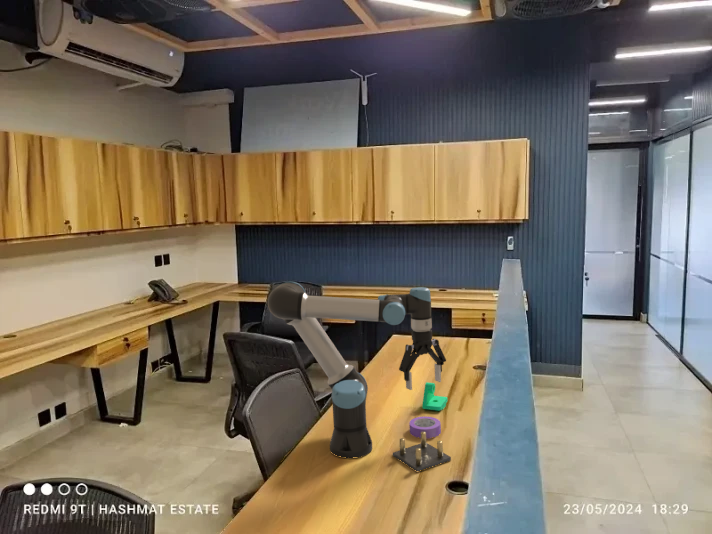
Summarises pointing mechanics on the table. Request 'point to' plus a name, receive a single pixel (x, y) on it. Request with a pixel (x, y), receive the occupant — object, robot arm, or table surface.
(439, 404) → the camera mount
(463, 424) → the table surface
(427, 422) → the masking tape
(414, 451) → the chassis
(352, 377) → the robot arm
